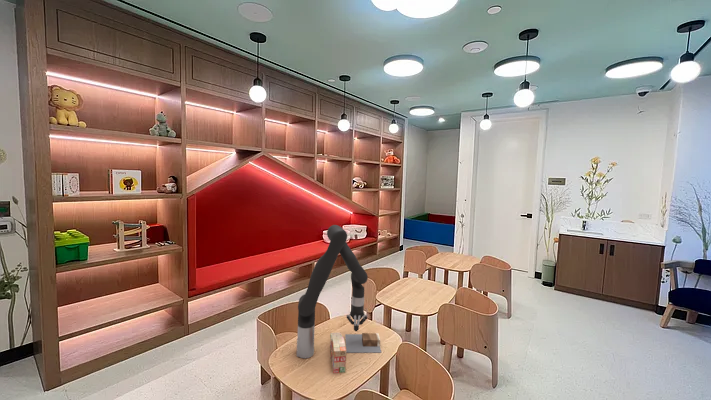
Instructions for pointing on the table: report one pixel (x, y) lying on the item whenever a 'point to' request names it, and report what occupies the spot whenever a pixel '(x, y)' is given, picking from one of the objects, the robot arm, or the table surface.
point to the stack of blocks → (338, 352)
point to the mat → (359, 345)
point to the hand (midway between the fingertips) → (356, 330)
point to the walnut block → (370, 339)
